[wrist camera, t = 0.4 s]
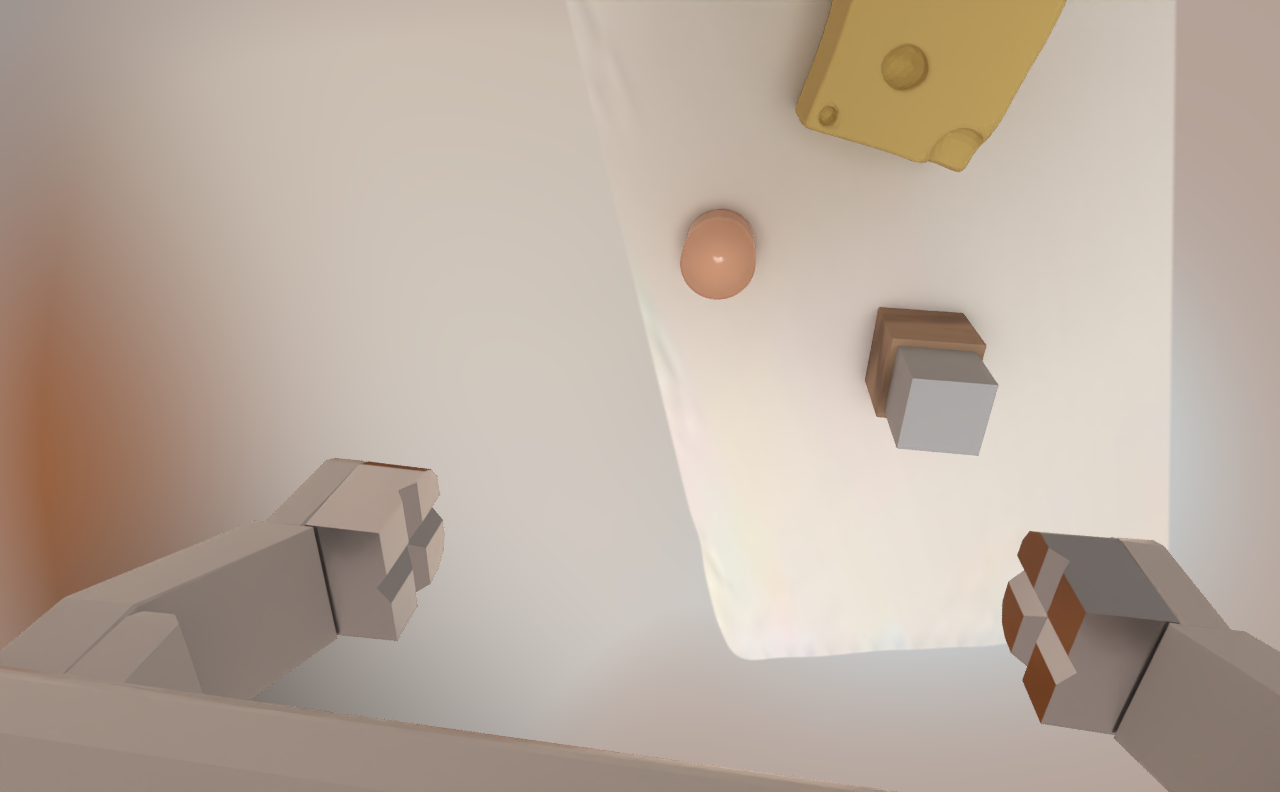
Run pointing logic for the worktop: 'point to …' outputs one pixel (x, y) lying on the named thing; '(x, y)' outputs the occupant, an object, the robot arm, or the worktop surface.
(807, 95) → the cheese
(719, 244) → the peach brown rounded dome
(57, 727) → the robot arm
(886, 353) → the walnut block
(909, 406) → the grey block
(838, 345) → the worktop surface
